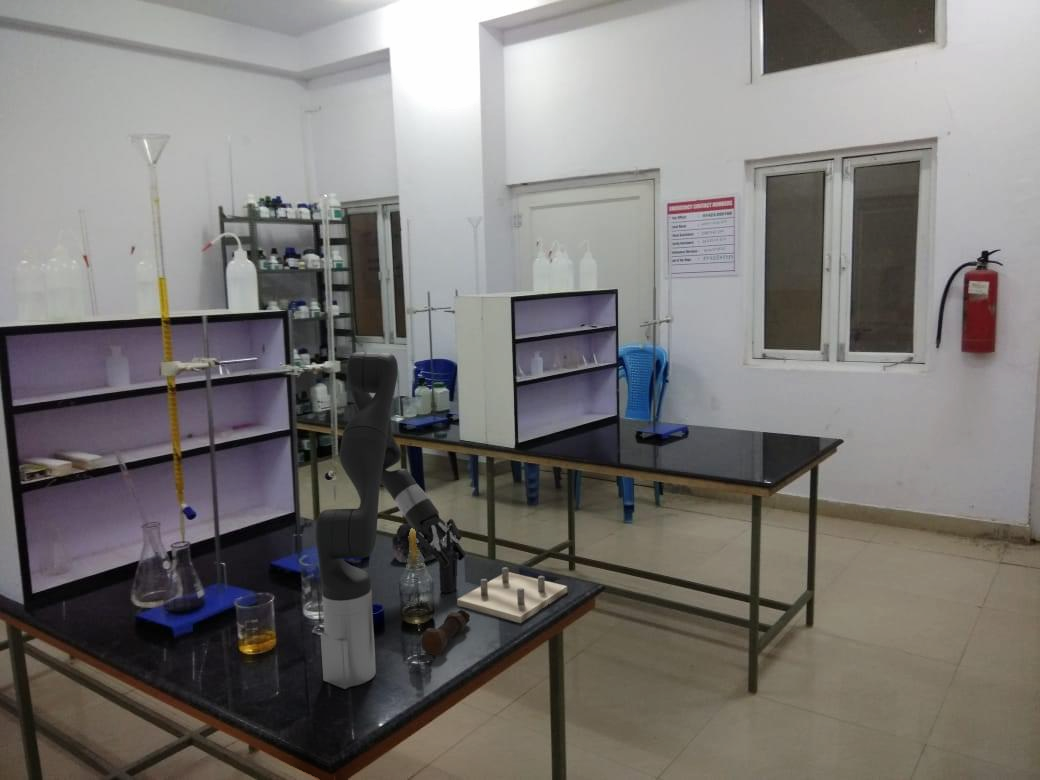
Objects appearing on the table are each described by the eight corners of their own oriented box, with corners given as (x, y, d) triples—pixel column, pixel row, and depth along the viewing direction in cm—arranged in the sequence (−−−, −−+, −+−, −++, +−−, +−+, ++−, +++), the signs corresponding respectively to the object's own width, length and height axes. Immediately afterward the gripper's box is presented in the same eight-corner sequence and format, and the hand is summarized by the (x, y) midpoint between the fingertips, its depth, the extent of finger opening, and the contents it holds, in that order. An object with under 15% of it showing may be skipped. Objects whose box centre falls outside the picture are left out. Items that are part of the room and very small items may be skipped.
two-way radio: (447, 585, 193) (445, 527, 191) (463, 587, 192) (462, 528, 190) (437, 593, 188) (436, 534, 186) (454, 595, 186) (453, 535, 184)
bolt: (467, 632, 171) (435, 661, 157) (449, 619, 172) (416, 646, 159) (479, 612, 169) (447, 640, 156) (460, 598, 171) (428, 625, 157)
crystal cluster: (450, 562, 211) (450, 526, 211) (402, 567, 204) (403, 530, 204) (432, 551, 223) (432, 517, 222) (386, 556, 216) (387, 521, 216)
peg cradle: (520, 623, 171) (519, 601, 170) (457, 605, 181) (456, 585, 180) (567, 592, 187) (566, 572, 186) (506, 577, 197) (506, 558, 196)
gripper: (404, 505, 185) (444, 562, 180) (442, 491, 197) (481, 544, 191) (389, 523, 189) (427, 580, 184) (428, 508, 200) (465, 561, 195)
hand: (455, 561), depth 187 cm, fingers closed on two-way radio, 5 cm apart
